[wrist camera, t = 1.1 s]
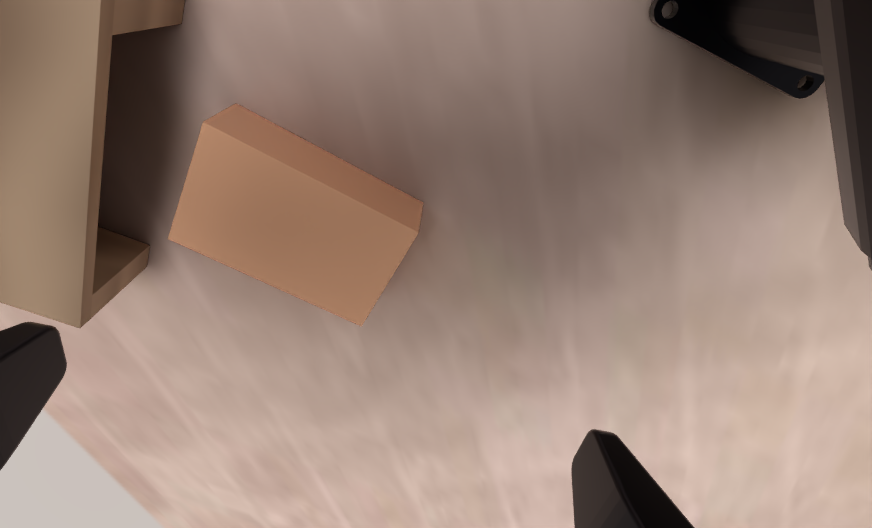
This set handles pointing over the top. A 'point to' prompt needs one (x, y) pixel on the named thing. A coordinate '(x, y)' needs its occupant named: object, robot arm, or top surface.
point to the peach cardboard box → (293, 214)
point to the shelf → (62, 153)
